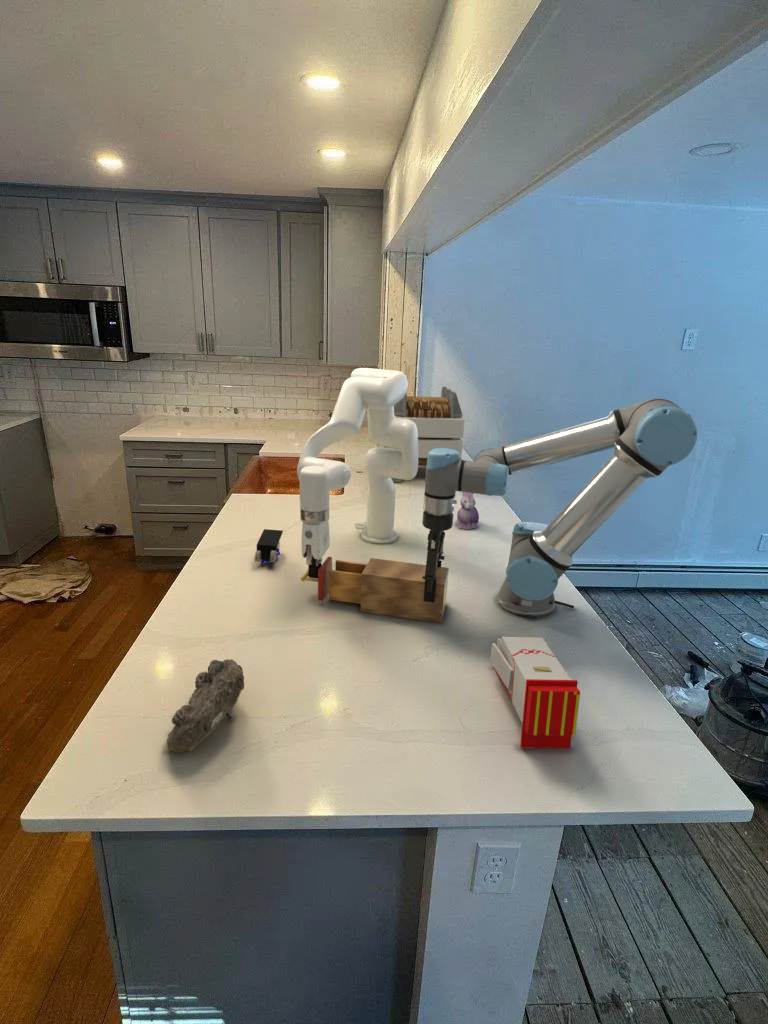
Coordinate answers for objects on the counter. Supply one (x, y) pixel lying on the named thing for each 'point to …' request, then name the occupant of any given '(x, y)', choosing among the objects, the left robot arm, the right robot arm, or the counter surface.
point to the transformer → (433, 422)
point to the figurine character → (268, 546)
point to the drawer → (339, 581)
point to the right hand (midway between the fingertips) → (431, 591)
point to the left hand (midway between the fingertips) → (315, 576)
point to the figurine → (467, 512)
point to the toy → (537, 691)
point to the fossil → (206, 705)
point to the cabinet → (402, 590)
